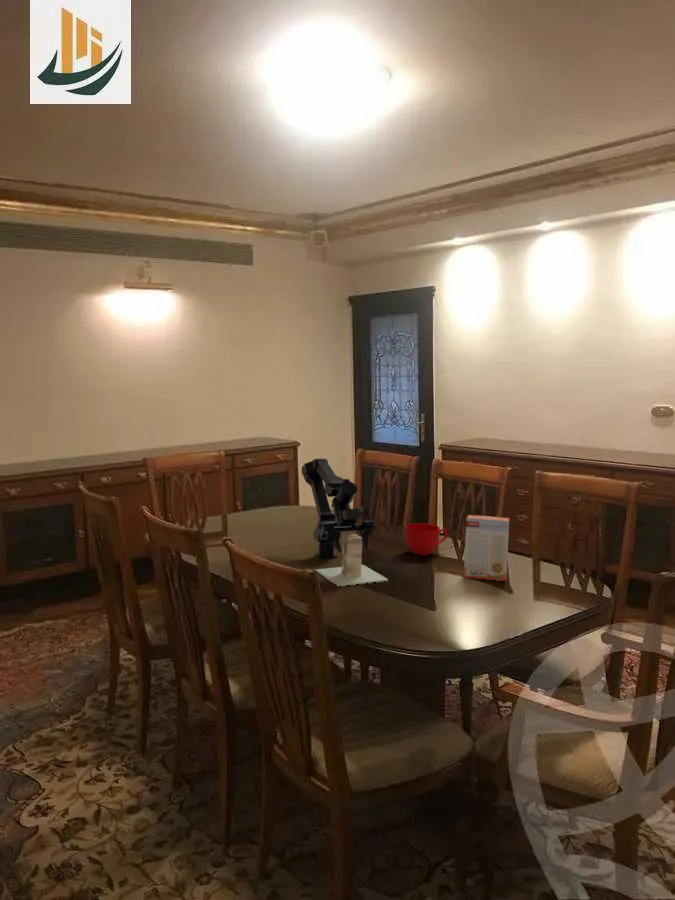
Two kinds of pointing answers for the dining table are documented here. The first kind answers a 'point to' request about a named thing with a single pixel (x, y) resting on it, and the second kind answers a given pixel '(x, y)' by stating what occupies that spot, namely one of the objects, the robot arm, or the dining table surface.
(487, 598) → the dining table surface
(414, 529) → the ceramic cup
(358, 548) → the birch block
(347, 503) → the robot arm
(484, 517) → the cracker box
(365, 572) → the sage mat
